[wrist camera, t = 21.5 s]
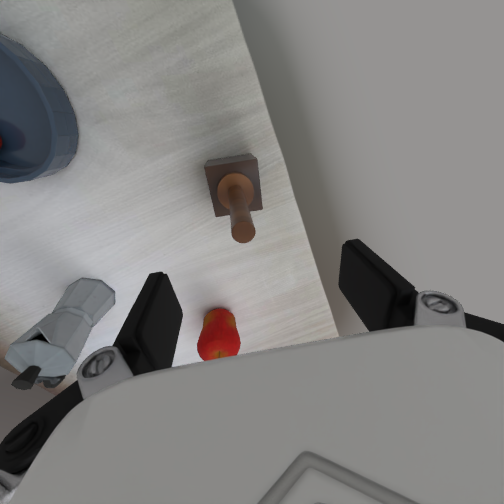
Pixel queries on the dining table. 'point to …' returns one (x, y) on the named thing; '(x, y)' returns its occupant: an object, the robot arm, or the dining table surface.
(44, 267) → the dining table surface
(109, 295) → the coffee maker
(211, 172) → the rest
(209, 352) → the apple
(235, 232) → the wooden plunger
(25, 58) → the bowl
